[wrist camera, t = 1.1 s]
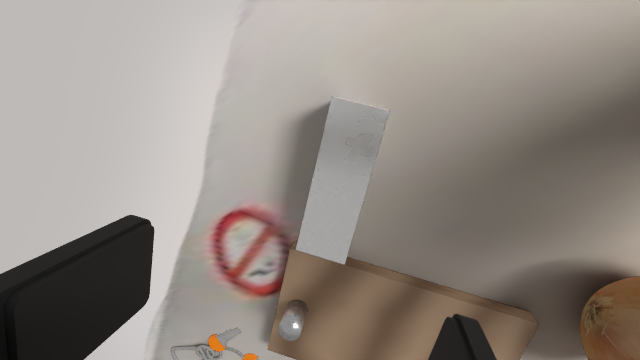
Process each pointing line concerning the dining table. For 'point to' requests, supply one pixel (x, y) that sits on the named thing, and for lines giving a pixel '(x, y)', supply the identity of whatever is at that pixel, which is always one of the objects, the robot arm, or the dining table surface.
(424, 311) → the peg board
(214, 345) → the key chain
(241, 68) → the dining table surface
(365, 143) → the silver metal block
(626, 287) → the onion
